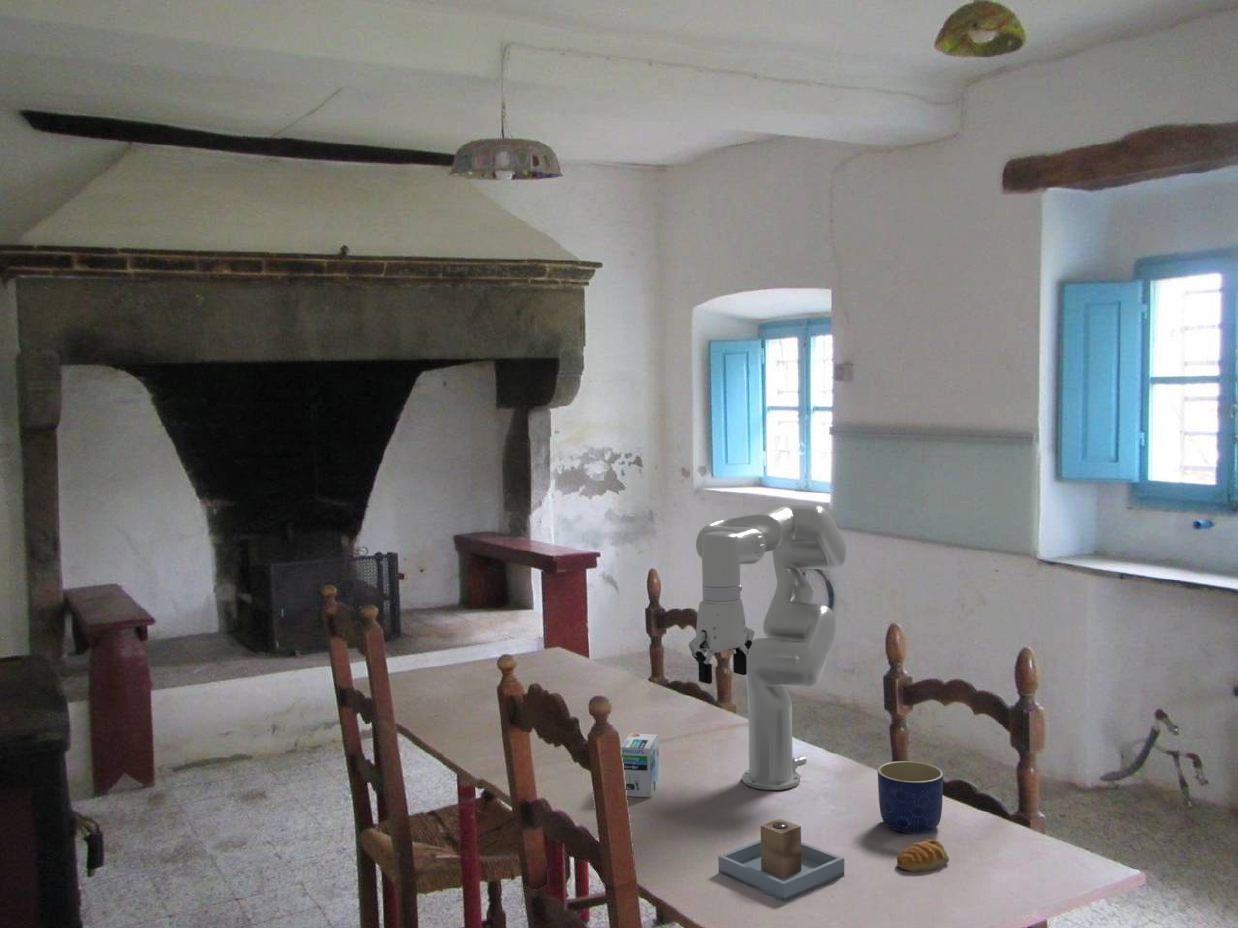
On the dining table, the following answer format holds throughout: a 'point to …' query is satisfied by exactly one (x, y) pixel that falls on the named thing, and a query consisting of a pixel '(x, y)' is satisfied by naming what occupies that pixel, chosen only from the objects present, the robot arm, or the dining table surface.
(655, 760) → the light bulb box
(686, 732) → the dining table surface
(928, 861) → the pastry
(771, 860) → the walnut block
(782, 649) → the robot arm
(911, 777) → the planter
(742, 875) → the tray
